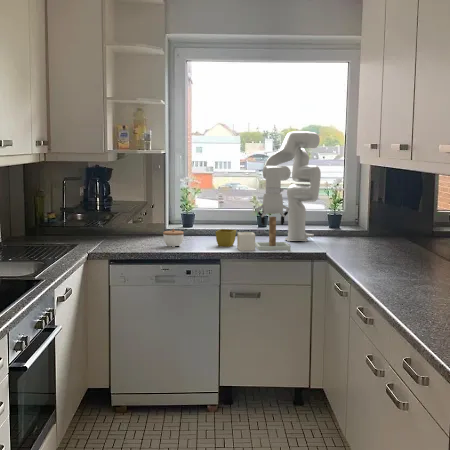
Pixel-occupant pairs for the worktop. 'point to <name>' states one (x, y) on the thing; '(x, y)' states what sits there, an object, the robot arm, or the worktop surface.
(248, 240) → the white square holder
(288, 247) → the tray
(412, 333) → the worktop surface
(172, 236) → the lidded jar
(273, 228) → the dowel
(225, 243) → the flower pot
